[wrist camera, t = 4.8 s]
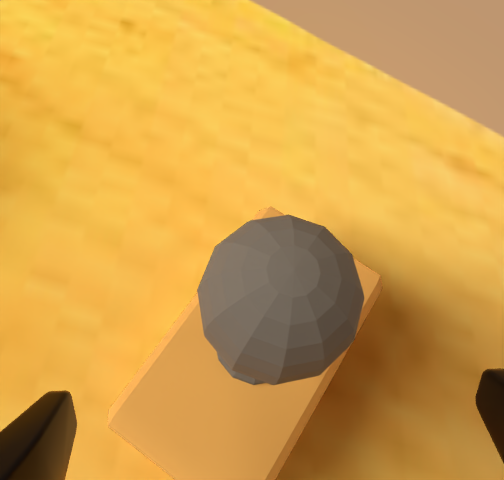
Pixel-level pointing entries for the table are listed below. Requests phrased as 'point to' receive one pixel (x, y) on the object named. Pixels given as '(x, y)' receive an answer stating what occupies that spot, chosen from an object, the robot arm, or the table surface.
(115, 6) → the table surface
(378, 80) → the table surface
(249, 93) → the table surface
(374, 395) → the table surface
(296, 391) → the rubber stamp
